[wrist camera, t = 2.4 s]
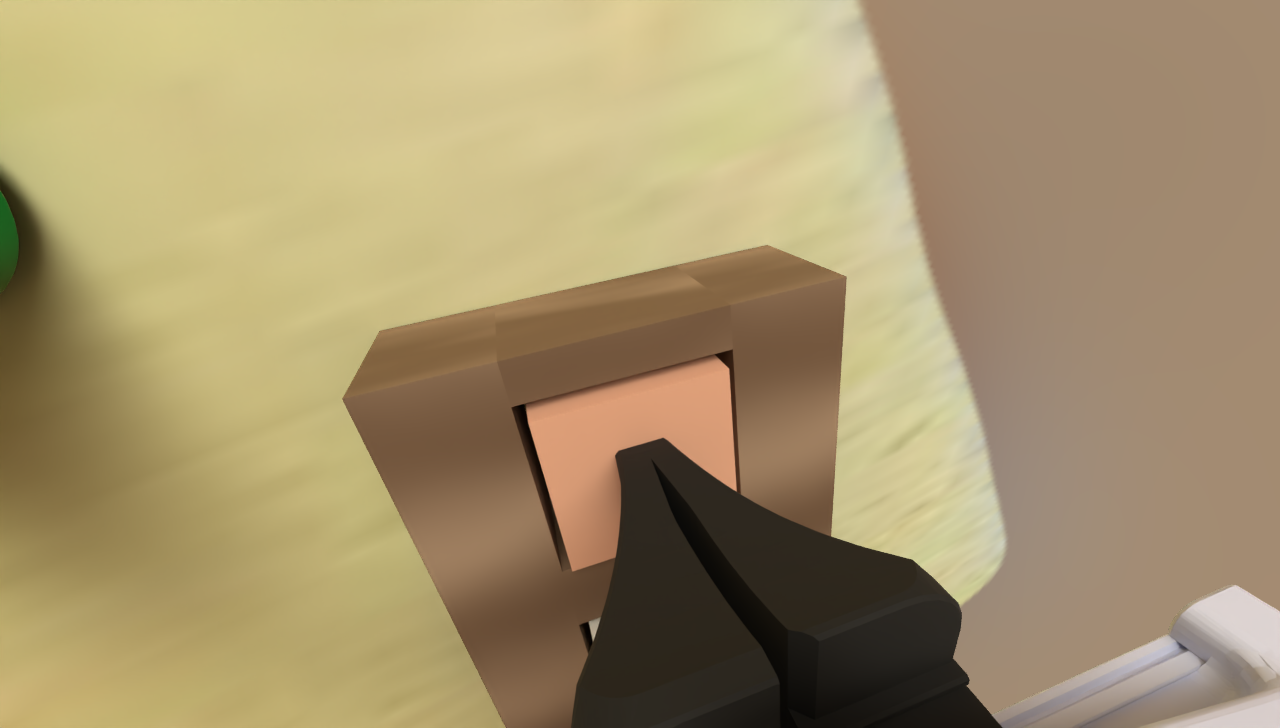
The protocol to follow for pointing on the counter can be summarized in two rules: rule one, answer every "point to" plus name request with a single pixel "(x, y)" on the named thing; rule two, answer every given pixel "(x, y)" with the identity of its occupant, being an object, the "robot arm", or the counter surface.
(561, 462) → the terracotta key
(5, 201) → the soda can
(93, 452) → the counter surface
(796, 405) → the key console
